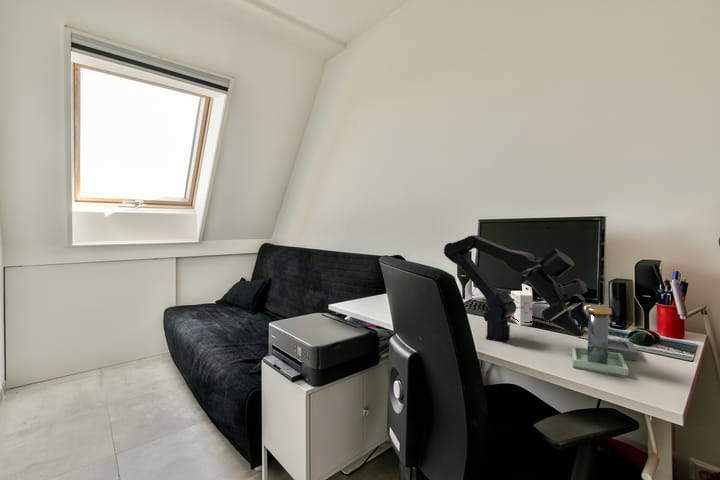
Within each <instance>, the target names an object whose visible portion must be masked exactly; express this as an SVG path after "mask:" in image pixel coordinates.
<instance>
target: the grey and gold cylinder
mask: <svg viewBox="0 0 720 480" xmlns="http://www.w3.org/2000/svg"><path fill="white" fill-rule="evenodd" d="M585 306H586V305H585ZM586 311H587V312H588V331H587V348H588V355H587V361H589V362H595V363H601V364H607V365H608V339H609V320H610V319H609V317H610V316H609V315H612V308H609V307H606V306H601V305H599V306H598V305H591V306H586Z"/></svg>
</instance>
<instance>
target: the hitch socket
mask: <svg viewBox="0 0 720 480" xmlns="http://www.w3.org/2000/svg"><path fill="white" fill-rule="evenodd" d="M608 352H614V353H621V354H622V356H623V359H624V360H626V361H628V360H629V361H636V362H638V355H639V354H638V351H637V349H636V347H635V345H634V344H633V341H626V340H620V339H613V338H608Z"/></svg>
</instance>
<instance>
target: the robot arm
mask: <svg viewBox="0 0 720 480" xmlns="http://www.w3.org/2000/svg"><path fill="white" fill-rule="evenodd" d="M473 249H476V250H478V251H480V252H483V253H485V254H487V255H489V256H492V257H494V258H496V259H499V260H501V261H502V262H503V263H504V264H505V265H506V266H507V267H509V268H510V269H512V270H513V271H515V272H517V273H524V272H528V271H529V272H528V273H526V274H521V275H520V283H519V284H520V285H522V284H526V283H527V284H529V285H530V287H532V289H534V290H535V292H537V293H538V296H537V298H539V300H541V299H543V301H546V303H547V304H548V305H549V307H548V308H546V309H545V310H544V311H542V317H543V318H544V319H545V320H546V321H549V320H551V319H552V318H553V320H552V321H550V323H554V324H556V325H558V326H560V327H562V328H564V329H563V330H565V329H566V330H565V331H568V332H570V333H572V334H573V335H576V336H577V337H579V338H581V337H582V336H584V333H583V331H582V329H581V330H580V329H579V327H578V326H577V324H576V323H575V322H574V320H573V319H575V320H576V321H577V323H578V324H580V325H582V326H584V328H585V327H587V328H588V316H587V314H586V312H585V310H584V306H586V301H585V300H586V297H584V296H583V294H585V293H588V292H589V291H588V289H587V286H588V285H587V283H585V282H584V280H581V279H580V278H576V279H572V280H571V282H570V284H567V285H563V284H562V283H559V282H558V283H556V282H555V281H554V280H553V278H560V277H561V276H563V274H565V273H566V272H567V271H569V270H571V268H573V267H574V266H575V263H574V260H572V258H570V256H569V255H567V254H565V253H564V252H562V251H560V250H559V249H558V248H553V249H552V250H551V251H550V252H549V253H548V254H547V255H545V256H544V257H543V258H540V257H536V256H535V255H534V254H532V253H531V252H526V251H521V250H517V249H516V250H515V249H512V248H509V247H508V248H507V247H505V246H503V245H501V244H498V243H495V242H493V241H491V240H488V239H485V238H483V237H482V236H480V235H477V234H474V235H468V236H467V237H464V238H462V239H460V240H457V241H455V242H447V243H446V244H445V245H444V248H443V254H444V256H445V257H446V258H447V259H448V260H449V261H450V262H452V263H453V264H455V265H458V267H460V268H461V270H462V271H463V272H464V273H465V274H466V276H467V277H468V278H469V280H470V281H471V282H472V283H473V284H474V286H475V287H476V288H477V290H479V292H480V293H481V294H482V295H483V297H484V298H485V301H486V306H487V308H488V310H487V311H486V312H485V313H484V314H482V316H483V318H484V319H483V320H484V321H485V322H486V336H485V339H486V340H491V341H496V342H497V341H498V342H503V343H507V342H508V340H510V337H511V325H510V324H509V320H511V316H512V315H513V314H514V313H515V311H516V304H515V303H514V301H515V300H514V299H512V298H511V294H509V292H508V291H507V290H504V291H500V290H498V289H497V287H496V286H495V285H493V283H492V282H491V281H490V280H489V278H488V277H487V276H486V275H485V274H484V272H483V271H482V270H481V269H480V268H479V266H478V265H477V264H476V263H475V261H473V259H472V258H471V254H470V252H471V251H472V250H473ZM537 267H538V268H537ZM534 268H537V269H536V270H535V269H534ZM572 318H573V319H572ZM562 328H561V329H562Z"/></svg>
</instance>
